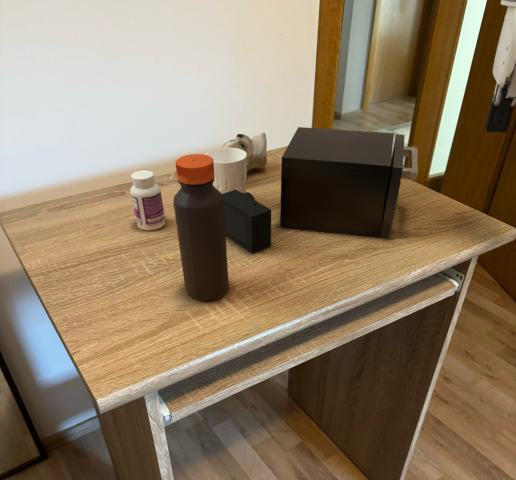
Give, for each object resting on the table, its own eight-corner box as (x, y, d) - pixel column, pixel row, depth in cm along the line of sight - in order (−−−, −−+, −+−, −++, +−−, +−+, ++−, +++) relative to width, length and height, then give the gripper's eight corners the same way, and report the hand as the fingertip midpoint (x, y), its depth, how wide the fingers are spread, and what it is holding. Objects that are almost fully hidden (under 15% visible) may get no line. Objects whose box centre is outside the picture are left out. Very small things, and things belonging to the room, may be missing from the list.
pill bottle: (169, 218, 93) (162, 169, 87) (161, 232, 90) (152, 181, 83) (142, 217, 94) (133, 167, 88) (133, 230, 90) (122, 179, 84)
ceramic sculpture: (280, 130, 104) (223, 151, 98) (281, 170, 110) (228, 192, 104) (249, 119, 110) (194, 138, 104) (252, 157, 116) (200, 177, 110)
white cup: (202, 210, 96) (197, 159, 89) (219, 194, 101) (216, 145, 95) (238, 216, 94) (236, 165, 87) (254, 199, 99) (253, 150, 93)
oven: (382, 199, 99) (394, 133, 90) (378, 237, 87) (390, 165, 78) (295, 191, 102) (298, 126, 93) (280, 227, 90) (281, 157, 82)
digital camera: (277, 244, 86) (277, 207, 81) (252, 254, 83) (251, 216, 79) (242, 222, 92) (241, 186, 87) (218, 231, 89) (216, 195, 85)
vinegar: (206, 272, 79) (194, 147, 66) (238, 287, 76) (231, 158, 63) (176, 291, 75) (156, 162, 62) (207, 307, 72) (194, 175, 59)
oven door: (406, 201, 98) (419, 135, 89) (404, 239, 86) (420, 169, 78) (384, 198, 98) (395, 134, 90) (380, 237, 87) (392, 166, 78)
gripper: (576, -3, 60) (528, 147, 72) (551, -16, 71) (513, 117, 83) (511, -2, 62) (475, 145, 74) (496, -14, 73) (467, 116, 85)
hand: (495, 130), depth 79 cm, fingers closed
